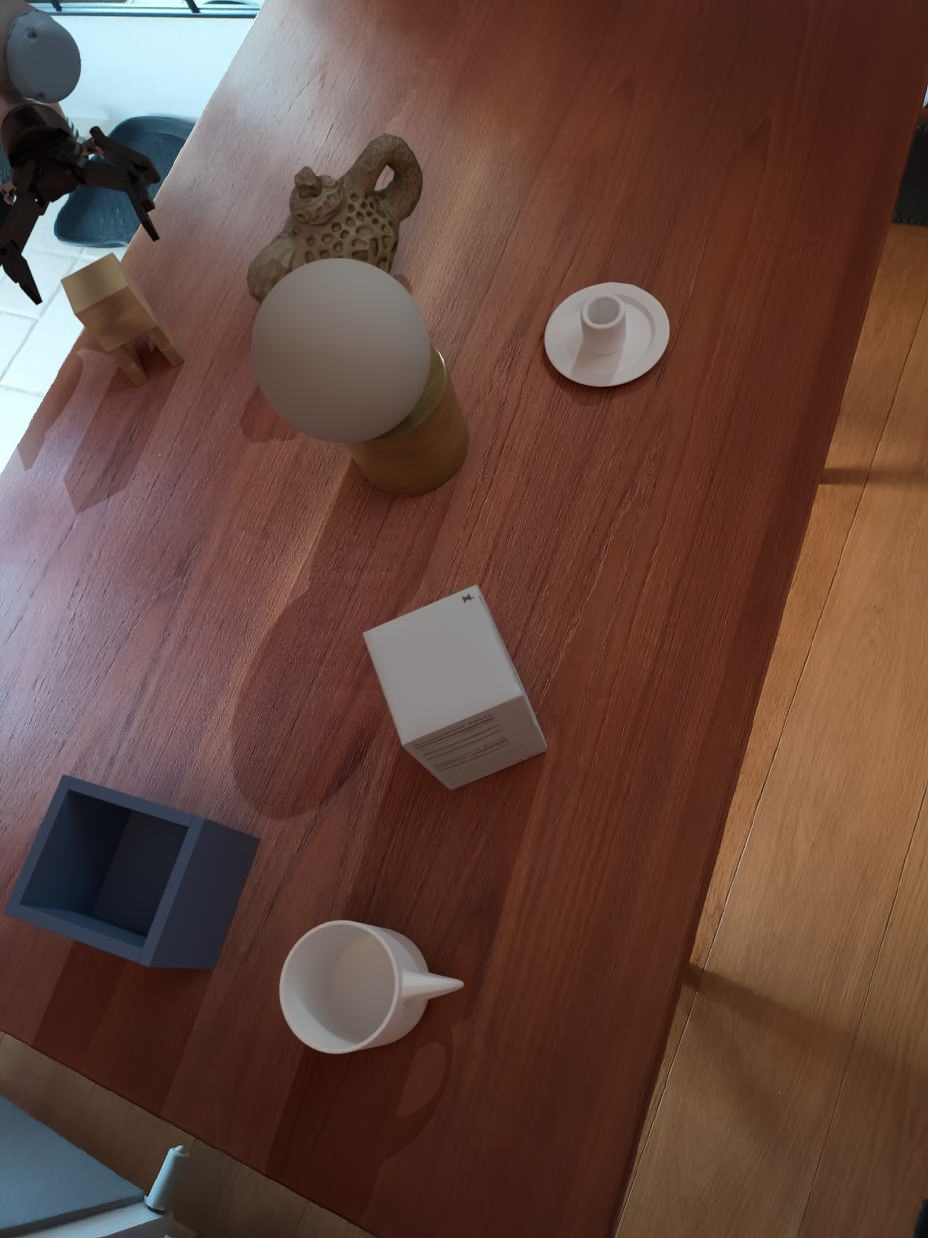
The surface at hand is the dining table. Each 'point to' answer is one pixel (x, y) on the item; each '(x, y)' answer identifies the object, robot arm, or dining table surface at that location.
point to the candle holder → (607, 334)
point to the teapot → (343, 215)
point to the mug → (356, 987)
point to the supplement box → (454, 690)
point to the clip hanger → (118, 314)
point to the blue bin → (133, 877)
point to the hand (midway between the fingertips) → (91, 263)
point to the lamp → (360, 373)
